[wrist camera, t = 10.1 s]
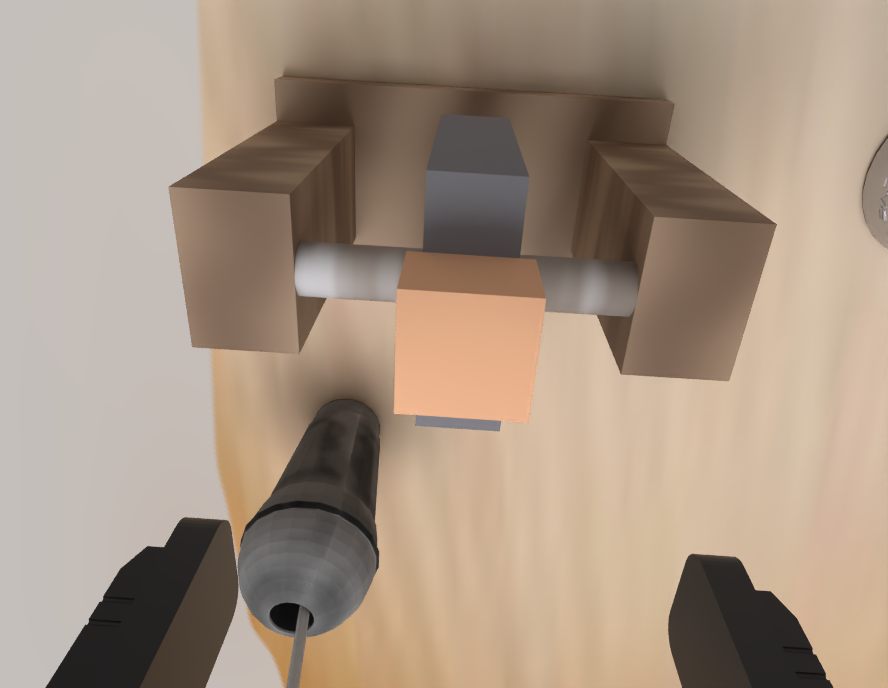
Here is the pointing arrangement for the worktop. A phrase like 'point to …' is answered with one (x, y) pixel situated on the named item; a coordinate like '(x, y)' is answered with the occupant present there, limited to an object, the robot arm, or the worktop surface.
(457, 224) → the peach and grey blocks
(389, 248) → the hook stand
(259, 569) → the beverage cup
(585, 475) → the worktop surface
